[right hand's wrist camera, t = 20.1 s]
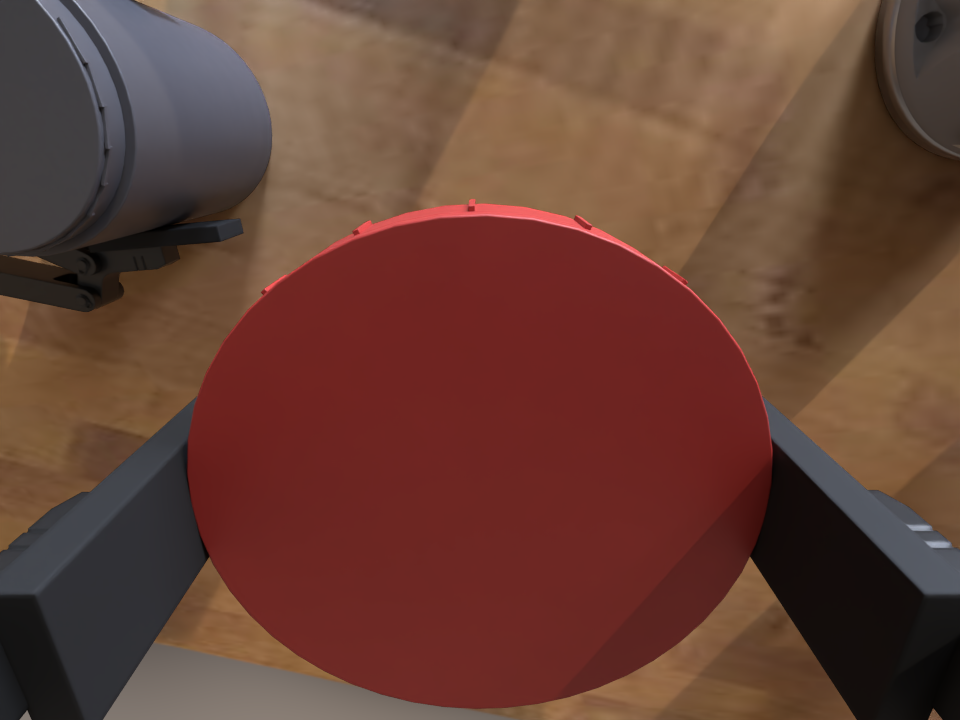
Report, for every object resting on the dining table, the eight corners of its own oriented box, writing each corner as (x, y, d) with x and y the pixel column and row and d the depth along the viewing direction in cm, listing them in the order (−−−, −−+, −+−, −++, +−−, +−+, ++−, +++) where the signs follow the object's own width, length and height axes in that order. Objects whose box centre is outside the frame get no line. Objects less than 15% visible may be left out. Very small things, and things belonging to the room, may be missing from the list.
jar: (160, 240, 34) (-60, 307, 20) (52, 69, 30) (-305, 8, 17) (304, 173, 32) (173, 194, 19) (208, -16, 29) (-43, -161, 15)
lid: (662, 99, 10) (697, 91, 8) (777, 577, 14) (816, 634, 12) (115, 325, 11) (56, 354, 9) (364, 694, 15) (350, 758, 13)
